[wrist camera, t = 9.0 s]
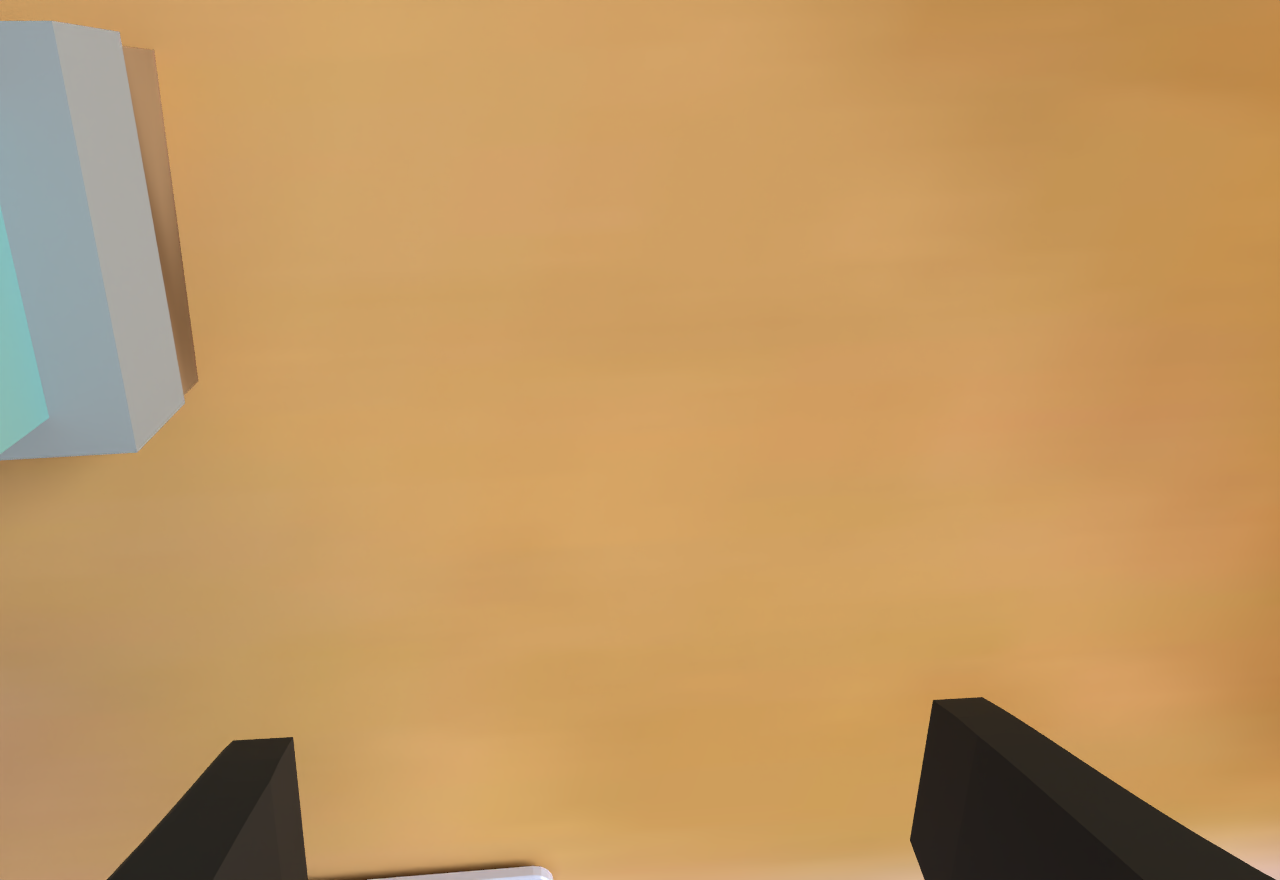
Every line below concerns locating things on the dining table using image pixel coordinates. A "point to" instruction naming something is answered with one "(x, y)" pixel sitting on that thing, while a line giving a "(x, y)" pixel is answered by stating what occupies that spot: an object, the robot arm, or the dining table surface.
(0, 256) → the teal block
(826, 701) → the dining table surface
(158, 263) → the slate top slab
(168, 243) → the walnut base slab
